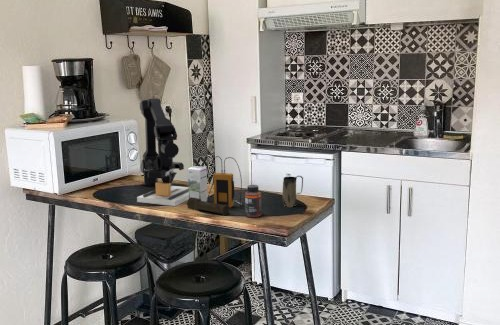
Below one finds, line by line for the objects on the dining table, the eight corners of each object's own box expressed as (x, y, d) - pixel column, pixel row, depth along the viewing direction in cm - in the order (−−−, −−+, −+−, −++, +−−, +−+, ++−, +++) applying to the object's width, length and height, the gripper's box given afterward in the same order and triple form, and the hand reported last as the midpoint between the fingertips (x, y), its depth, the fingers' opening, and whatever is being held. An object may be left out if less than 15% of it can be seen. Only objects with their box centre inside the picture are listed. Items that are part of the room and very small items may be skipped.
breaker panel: (166, 189, 227) (166, 182, 227) (201, 193, 220) (201, 185, 220) (137, 201, 207) (136, 194, 207) (175, 206, 200) (174, 198, 200)
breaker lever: (158, 193, 211) (158, 182, 210) (171, 195, 208) (170, 183, 207) (155, 194, 209) (155, 183, 208) (168, 196, 207) (167, 184, 206)
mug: (280, 206, 198) (280, 176, 195) (284, 202, 203) (284, 173, 200) (300, 208, 195) (300, 177, 193) (304, 204, 200) (304, 174, 198)
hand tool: (230, 214, 190) (230, 202, 189) (223, 216, 186) (223, 204, 185) (192, 206, 200) (192, 195, 200) (185, 209, 197) (185, 197, 196)
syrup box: (208, 201, 207) (207, 166, 204) (200, 205, 201) (199, 169, 199) (196, 200, 209) (194, 165, 206) (188, 203, 204) (187, 168, 201)
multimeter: (248, 202, 205) (248, 153, 201) (240, 208, 195) (239, 157, 192) (215, 199, 209) (213, 151, 206) (205, 206, 200) (203, 156, 196)
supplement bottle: (260, 213, 189) (260, 183, 187) (262, 217, 184) (262, 187, 181) (244, 213, 189) (244, 184, 187) (246, 218, 183) (245, 188, 181)
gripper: (161, 148, 219) (163, 183, 223) (135, 156, 203) (138, 194, 206) (183, 149, 215) (185, 185, 218) (159, 158, 198) (161, 196, 202)
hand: (167, 190), depth 211 cm, fingers closed
